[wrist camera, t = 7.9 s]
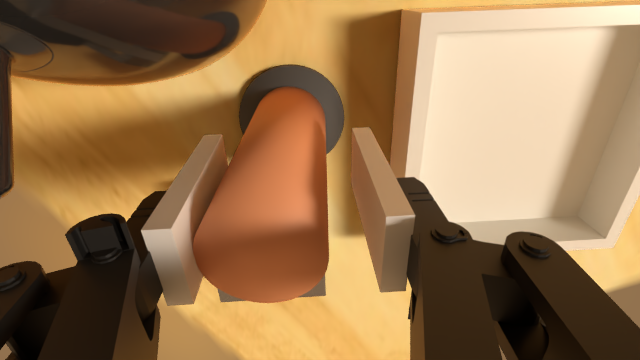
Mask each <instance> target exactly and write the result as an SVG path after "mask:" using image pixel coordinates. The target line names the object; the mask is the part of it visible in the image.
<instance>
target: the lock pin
mask: <svg viewBox="0 0 640 360" xmlns="http://www.w3.org/2000/svg"><path fill="white" fill-rule="evenodd" d="M193 254H194V257H195V260H196V264H197V266H198V268H199V270H200V271H201V273H202V274H203V275H204V277H205V278H206V279H207V280H208V281H209V282H210V283H212V284H213V285H214V286H215V287H217V288H218V289H220V290H221V291H223V292H225V293H227V294H229V295H231V296H234V297H236V298H239V299H243V300H247V301H252V302H260V303H274V302H282V301H287V300H291V299H294V298H297V297H299V296H301V295H303V294H305V293H307V292H308V291H310V290H311V289H313V288H314V287H315V286H316V285H317V284H318V283H319V282H320V280H321V279H322V278H323V276H324V274H325V272H326V270H327V266H328V262H329V243H328V204H327V164H326V124H325V114H324V110H323V108H322V106H321V104H320V103H319V101H318V100H317V99H316V98H315V97H314V96H313V95H312V94H311V93H309V92H307V91H306V90H303V89H301V88H297V87H281V88H277V89H274V90H272V91H271V92H269V93H268V94H266V95H265V96H264V97H263V98H262V100H261V101H260V103H259V105H258V107H257V109H256V111H255V113H254V115H253V117H252V119H251V121H250V123H249V125H248V127H247V129H246V131H245V133H244V135H243V137H242V139H241V142H240V144H239V146H238V148H237V150H236V152H235V154H234V156H233V158H232V160H231V162H230V164H229V166H228V168H227V170H226V172H225V174H224V176H223V178H222V180H221V183H220V185H219V187H218V189H217V191H216V193H215V195H214V197H213V199H212V201H211V203H210V205H209V207H208V209H207V211H206V213H205V215H204V217H203V219H202V222H201V224H200V226H199V228H198V230H197V232H196V234H195V237H194V242H193Z"/></svg>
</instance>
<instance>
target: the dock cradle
mask: <svg viewBox="0 0 640 360" xmlns="http://www.w3.org/2000/svg"><path fill="white" fill-rule="evenodd" d="M390 167H391V169H392V171H393V173H394V175H395V177H396V178H404V177H415V178H416V179H418V180H419V181H421V182H422V183H424V184H425V186H426V187H427V189H428V190H429V192H430V194H431V195H432V196H433V198H434V200H435V201H436V203H437V204H438V206H439V207H440V209H441V210H442V212H443V213H444V215H445V216H446V218H447V220H448V221H449V222H454V223H456V224H458V225H460V226H462V227H464V228H465V229H466V230H467V231H469V233H470V235H471V236H472V239H473V240H477V241H482V242H488V243H494V244H501V245H504V244H505V240H506V237H507V236H508V235H510V234H511V233H514V232H520V231H523V232H532V233H536V234H540V235H543V236H545V237H547V238H549V239H551V240H553V241H554V242H556V243H557V244H558V245H560V246H561V247H562V248H563V249H564V250H565V251H570V250H586V249H603V248H614V246H615V244H616V241H617V239H618V237H619V235H620V233H621V231H622V229H623V227H624V225H625V223H626V221H627V219H628V217H629V215H630V213H631V211H632V209H633V207H634V205H635V203H636V201H637V199H638V197H639V195H640V1H616V2H589V3H561V4H534V5H506V6H479V7H451V8H424V9H402V13H401V26H400V39H399V52H398V66H397V79H396V92H395V105H394V118H393V131H392V144H391V157H390Z"/></svg>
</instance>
